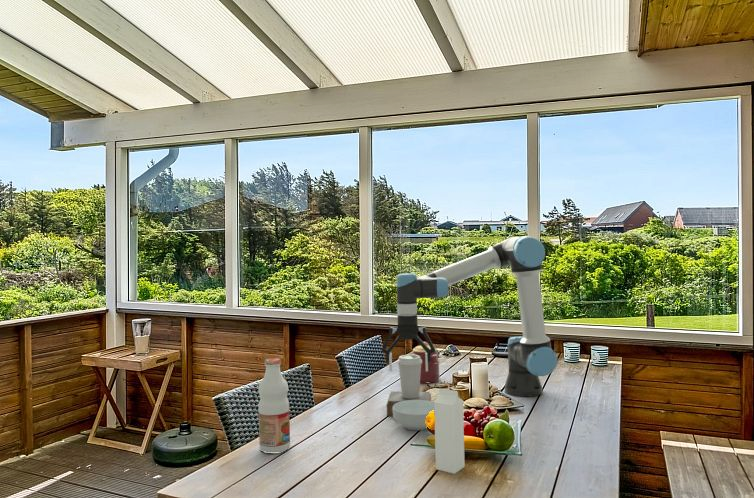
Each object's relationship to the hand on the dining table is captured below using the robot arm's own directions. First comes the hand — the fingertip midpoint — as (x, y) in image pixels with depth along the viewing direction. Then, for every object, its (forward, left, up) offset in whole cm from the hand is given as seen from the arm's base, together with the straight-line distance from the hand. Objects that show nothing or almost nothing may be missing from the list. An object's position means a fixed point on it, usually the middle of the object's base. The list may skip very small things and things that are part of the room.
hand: (408, 370), depth 208 cm
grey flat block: (0, 0, -15) cm, 15 cm away
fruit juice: (+40, +41, -15) cm, 59 cm away
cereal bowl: (-4, +19, -15) cm, 24 cm away
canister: (-5, -45, -15) cm, 48 cm away
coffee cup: (0, 0, -10) cm, 10 cm away
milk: (-14, +53, -15) cm, 57 cm away
